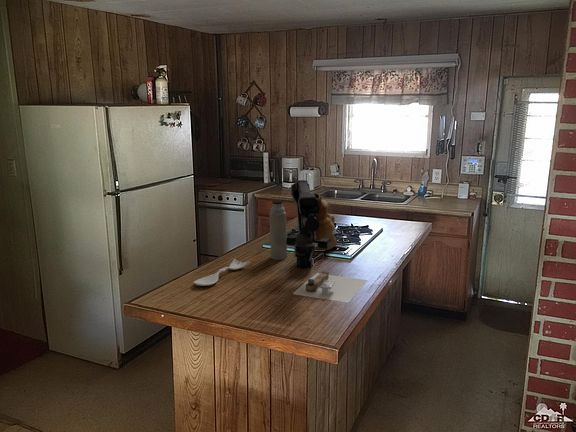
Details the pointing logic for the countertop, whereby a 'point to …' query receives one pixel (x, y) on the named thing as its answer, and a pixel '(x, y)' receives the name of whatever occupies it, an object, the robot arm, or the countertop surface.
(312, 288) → the link
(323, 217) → the ceramic vessel
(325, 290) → the block
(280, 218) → the thermos bottle
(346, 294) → the base board
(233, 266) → the spoon
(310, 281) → the pintle pin
